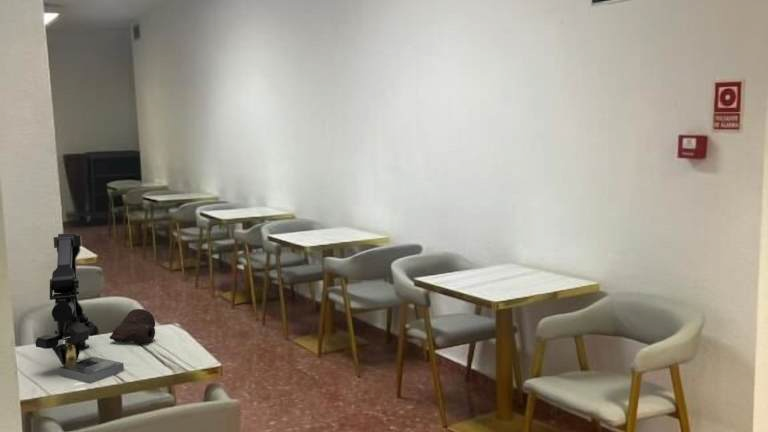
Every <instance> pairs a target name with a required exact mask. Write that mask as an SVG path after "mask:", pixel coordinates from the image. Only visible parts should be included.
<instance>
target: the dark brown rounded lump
mask: <svg viewBox="0 0 768 432" xmlns="http://www.w3.org/2000/svg"><path fill="white" fill-rule="evenodd" d="M155 326H156V319H155V317H154V316H153V315H152V313H151V312H149V311H148V310H146V309H143V308H135V309H132V310H130V311H129V312H128V313H127V315H126V316H125V317H124V318H123V320H122V322H120V324H119V325H117V326H116V327H115V328H114V330H113V331H112V334H111V335H110V336H109V339H110V340H113V341H114V342H116V343H117V342H118V343H128V342H130V343H134V344H140V345H148V344H150V343H152V342H153V341H154V339H155V336H156V328H155Z"/></svg>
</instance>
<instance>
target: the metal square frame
mask: <svg viewBox="0 0 768 432" xmlns="http://www.w3.org/2000/svg"><path fill="white" fill-rule="evenodd" d="M124 366H125V365H124V362H121V361H114V360H109V359H106V358H101V357H97V356H92V357H87V358H85V359H82V360H79V361H77V362H76V363H73V364H70V365H67V366H64V367H63V366H61V367H59V372H60V373H59V374H60V377H64V378H69V379H72V380H77V381H79V382H80V381H81V382H84V383H89V384H92V383H95V382H97V381H101V380H103V379H106V378H109V377H111V376H114V375H116V374H119V373H123V372H124V371H125V369H124V368H125V367H124Z"/></svg>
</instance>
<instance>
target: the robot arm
mask: <svg viewBox="0 0 768 432" xmlns="http://www.w3.org/2000/svg"><path fill="white" fill-rule="evenodd" d="M78 234H79V233H77V232H73V233H72V232H70V233H58V234H57V236H53V246H54V247H53V248H54V249H56V252H57V262H56V263H57V266H56V268H55V269H54V270H53V272H52V275H51V276H52V277H51V278H50V279H49V300H50V301H53V300H55V301H54V306H53V308H52V310H51V316H52V318H53V322H56V330H54V334H55V335H50V334H45V335H41V336H40V337H37V338H36V339H35V348H41V349H44V350H49V349H51V350H52V351H53V352H54V354H55V355H56V356H57V358H58V360H59V361H60V363H61V365H62V366H63V365H65V347H66V344H68V343H75V345H76V359H77V361H78V360H79V355H80V353H81V351H82V350H85V349H88V348H90V346H89V345H86V341H87V340H89V339H90V338H89V337H90V336H91V337H92V336H96V335H99V328H98V325H96V324H94V322H93V321H92V320H90V321H89V317H88V316H87V314H86V313H85V309H84V307H83V306H82V305H81V304H80V302H79V295H80V280H78V273H77V272H78V271H77V258H78V256H79V255H80V253H81V247H83V237H82V235H78Z"/></svg>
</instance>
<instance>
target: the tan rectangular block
mask: <svg viewBox="0 0 768 432" xmlns="http://www.w3.org/2000/svg"><path fill="white" fill-rule="evenodd" d="M76 362H78V360H77V359H76V345H75V343H68V344H66V347H65V365H63V364H62V367H64V366H67V365H70V364H73V363H76Z"/></svg>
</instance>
